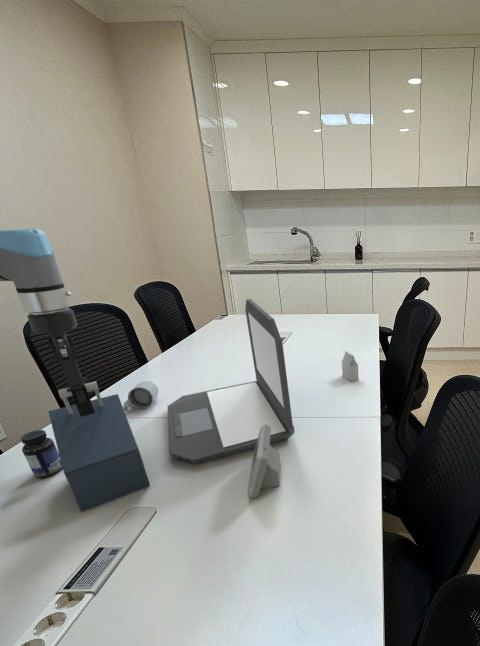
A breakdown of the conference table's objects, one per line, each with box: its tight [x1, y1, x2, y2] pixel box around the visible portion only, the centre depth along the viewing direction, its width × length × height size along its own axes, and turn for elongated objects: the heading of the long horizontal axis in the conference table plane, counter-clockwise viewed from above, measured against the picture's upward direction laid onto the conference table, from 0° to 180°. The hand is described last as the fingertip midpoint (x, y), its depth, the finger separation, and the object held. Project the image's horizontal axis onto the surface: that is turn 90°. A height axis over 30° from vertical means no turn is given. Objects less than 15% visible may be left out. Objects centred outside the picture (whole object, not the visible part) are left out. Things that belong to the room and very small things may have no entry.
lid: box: [48, 381, 140, 475], centre depth 85 cm, size 18×14×9 cm
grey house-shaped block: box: [341, 350, 360, 383], centre depth 147 cm, size 4×7×10 cm, turn 27°
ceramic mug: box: [123, 380, 159, 410], centre depth 131 cm, size 11×8×8 cm
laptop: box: [167, 298, 295, 464], centre depth 113 cm, size 43×31×34 cm
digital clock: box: [247, 425, 282, 499], centre depth 92 cm, size 16×9×11 cm, turn 0°
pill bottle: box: [20, 429, 63, 479], centre depth 96 cm, size 6×6×11 cm
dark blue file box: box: [64, 449, 151, 513], centre depth 92 cm, size 17×14×10 cm
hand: (87, 412), depth 88 cm, fingers closed on lid, 2 cm apart
